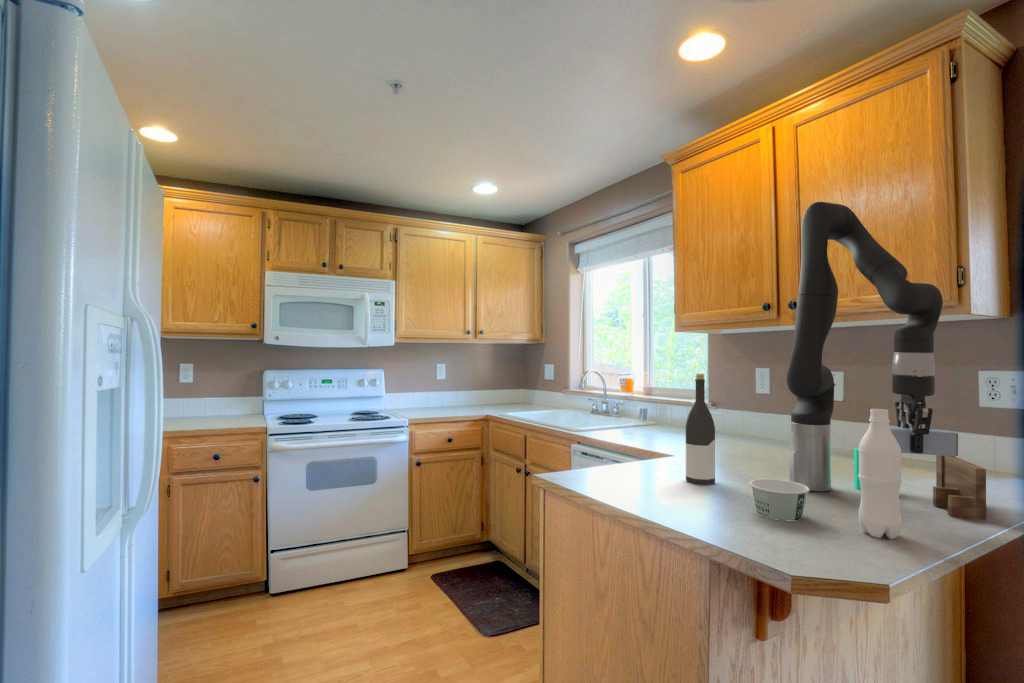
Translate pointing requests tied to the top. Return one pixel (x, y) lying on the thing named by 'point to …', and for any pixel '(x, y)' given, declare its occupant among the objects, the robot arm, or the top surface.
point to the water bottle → (880, 478)
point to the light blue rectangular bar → (929, 441)
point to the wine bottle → (700, 440)
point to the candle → (856, 469)
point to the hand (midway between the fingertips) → (912, 450)
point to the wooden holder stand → (960, 488)
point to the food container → (779, 498)
